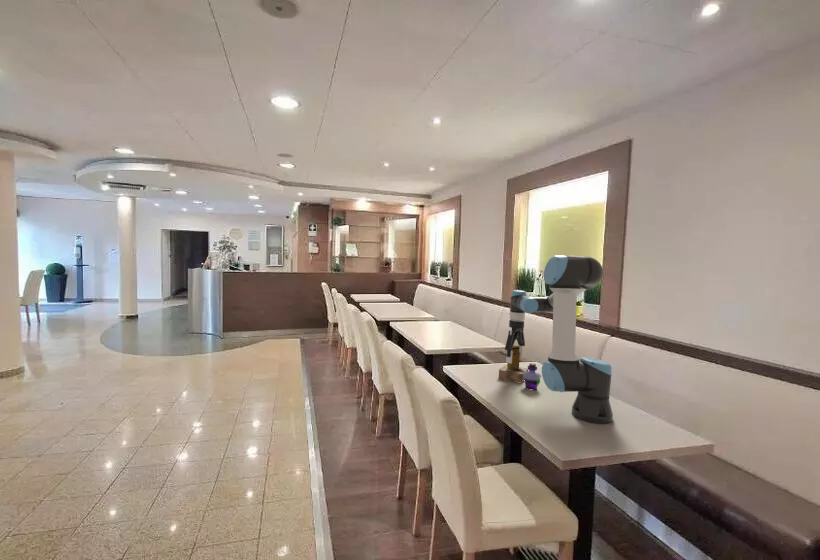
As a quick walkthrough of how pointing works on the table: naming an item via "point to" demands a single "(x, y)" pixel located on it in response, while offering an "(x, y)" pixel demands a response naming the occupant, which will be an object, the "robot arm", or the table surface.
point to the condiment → (515, 360)
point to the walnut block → (511, 374)
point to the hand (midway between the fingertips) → (514, 360)
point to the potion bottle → (531, 377)
